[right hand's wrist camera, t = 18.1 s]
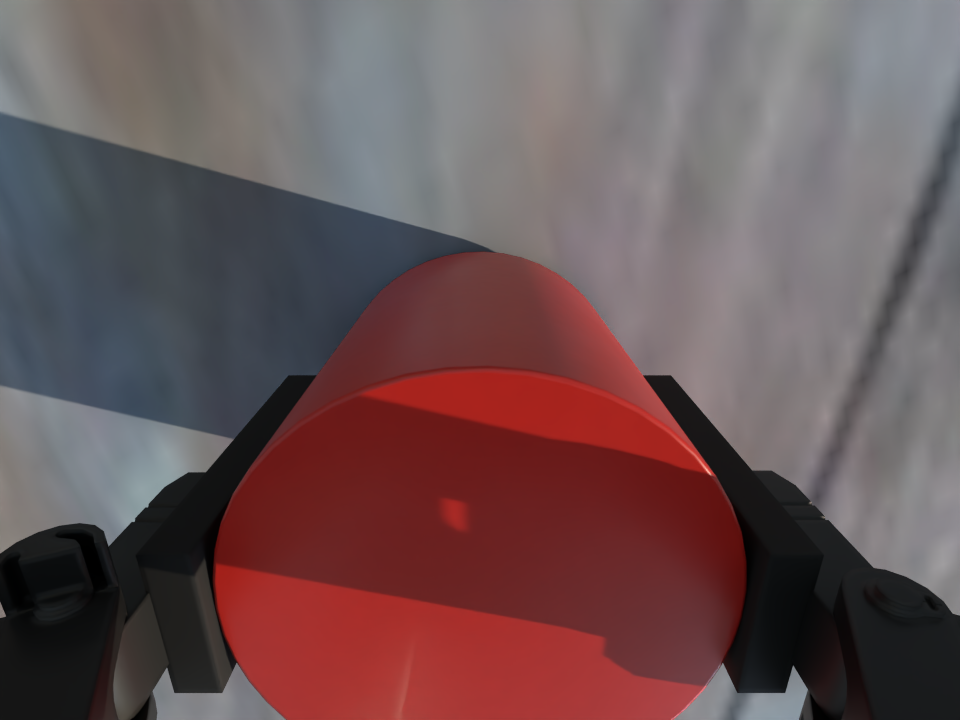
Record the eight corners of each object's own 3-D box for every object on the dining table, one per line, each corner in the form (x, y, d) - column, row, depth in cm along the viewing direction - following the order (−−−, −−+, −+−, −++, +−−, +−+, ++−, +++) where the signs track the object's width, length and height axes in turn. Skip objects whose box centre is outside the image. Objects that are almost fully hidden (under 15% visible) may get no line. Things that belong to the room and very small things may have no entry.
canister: (541, 532, 18) (589, 831, 10) (309, 446, 17) (158, 708, 9) (666, 320, 16) (864, 499, 8) (401, 202, 14) (304, 264, 6)
